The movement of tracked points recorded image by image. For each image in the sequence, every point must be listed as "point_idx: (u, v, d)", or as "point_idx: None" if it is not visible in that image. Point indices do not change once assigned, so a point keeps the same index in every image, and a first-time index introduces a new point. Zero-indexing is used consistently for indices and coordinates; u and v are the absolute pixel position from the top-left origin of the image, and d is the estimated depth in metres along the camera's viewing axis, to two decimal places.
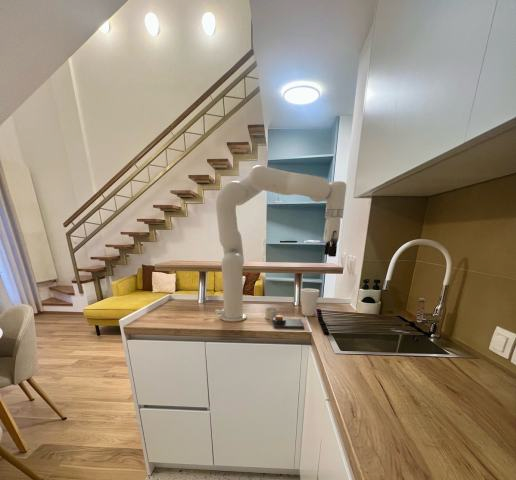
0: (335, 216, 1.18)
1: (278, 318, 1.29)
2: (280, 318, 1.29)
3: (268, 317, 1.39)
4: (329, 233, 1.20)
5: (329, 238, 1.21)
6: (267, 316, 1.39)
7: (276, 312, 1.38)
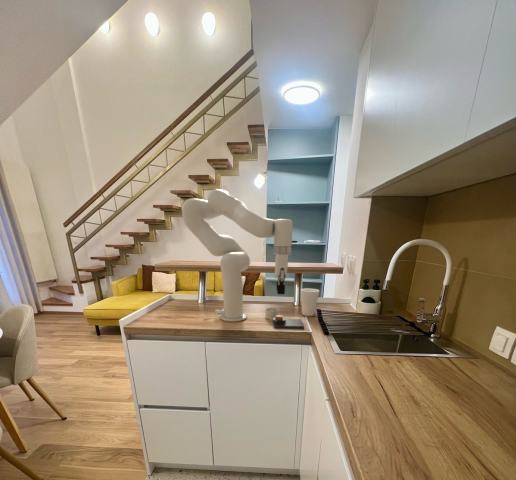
0: (282, 253, 1.16)
1: (278, 318, 1.29)
2: (280, 318, 1.29)
3: (268, 317, 1.39)
4: (277, 270, 1.18)
5: (277, 275, 1.18)
6: (267, 316, 1.39)
7: (276, 312, 1.38)
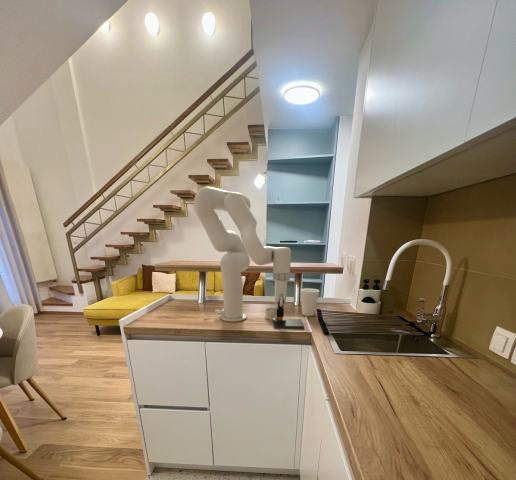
0: (281, 280, 1.20)
1: (278, 319, 1.29)
2: (280, 319, 1.29)
3: (268, 317, 1.39)
4: (276, 296, 1.22)
5: (276, 300, 1.22)
6: (267, 316, 1.39)
7: (276, 312, 1.38)
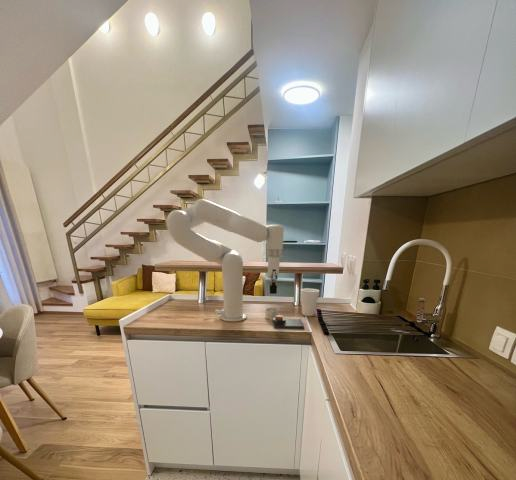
0: (274, 256, 1.26)
1: (278, 318, 1.29)
2: (280, 318, 1.29)
3: (268, 317, 1.39)
4: (269, 271, 1.28)
5: (269, 276, 1.29)
6: (267, 316, 1.39)
7: (276, 312, 1.38)
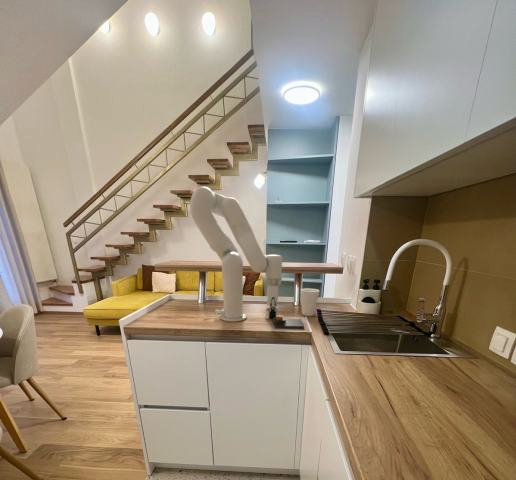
0: (273, 284, 1.31)
1: (278, 318, 1.29)
2: (280, 318, 1.29)
3: (268, 317, 1.39)
4: (268, 299, 1.33)
5: (268, 303, 1.34)
6: (267, 316, 1.39)
7: (276, 312, 1.38)
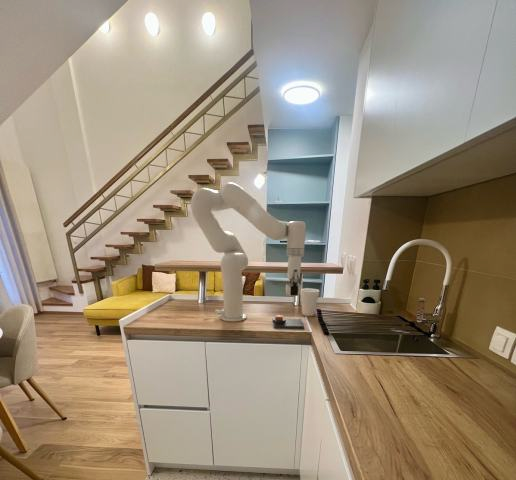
0: (295, 255, 1.17)
1: (278, 318, 1.29)
2: (280, 318, 1.29)
3: (289, 293, 1.25)
4: (290, 272, 1.19)
5: (290, 276, 1.20)
6: (288, 292, 1.25)
7: (298, 287, 1.24)
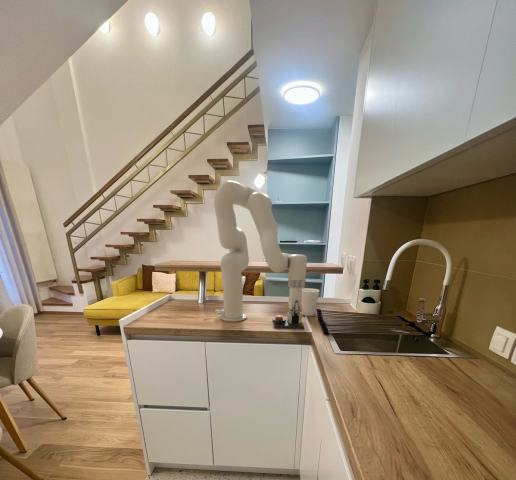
0: (296, 287, 1.21)
1: (278, 318, 1.29)
2: (280, 318, 1.29)
3: (290, 321, 1.28)
4: (291, 302, 1.23)
5: (291, 307, 1.23)
6: (289, 320, 1.29)
7: (299, 316, 1.27)
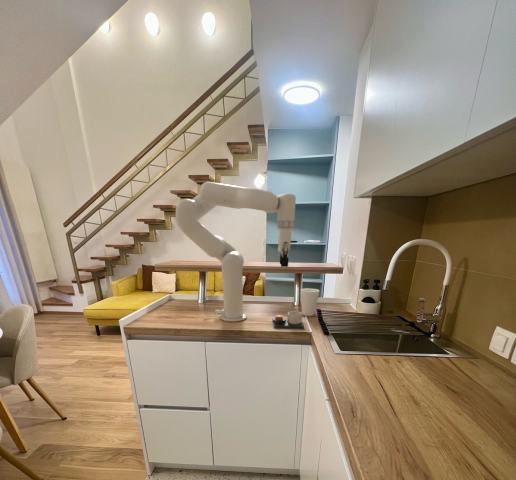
0: (285, 227, 1.20)
1: (278, 318, 1.29)
2: (280, 318, 1.29)
3: (290, 321, 1.28)
4: (280, 244, 1.22)
5: (280, 249, 1.23)
6: (289, 320, 1.29)
7: (299, 316, 1.27)
